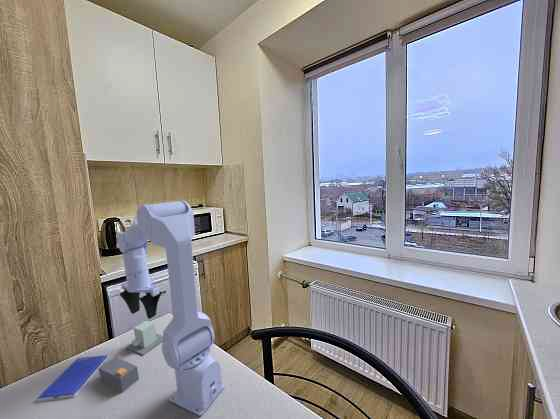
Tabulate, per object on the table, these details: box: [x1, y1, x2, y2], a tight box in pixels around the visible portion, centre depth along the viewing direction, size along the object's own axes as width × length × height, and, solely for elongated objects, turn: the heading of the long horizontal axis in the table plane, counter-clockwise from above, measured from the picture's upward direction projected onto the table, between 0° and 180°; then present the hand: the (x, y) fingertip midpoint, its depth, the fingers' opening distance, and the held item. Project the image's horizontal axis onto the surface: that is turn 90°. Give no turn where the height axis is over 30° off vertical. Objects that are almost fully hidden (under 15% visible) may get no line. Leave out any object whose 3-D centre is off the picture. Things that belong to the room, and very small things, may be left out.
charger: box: [131, 320, 157, 348], centre depth 73 cm, size 4×6×6 cm
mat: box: [125, 333, 163, 356], centre depth 74 cm, size 8×8×1 cm
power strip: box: [98, 356, 140, 393], centre depth 60 cm, size 9×4×4 cm, turn 64°
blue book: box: [36, 354, 108, 402], centre depth 62 cm, size 2×8×12 cm
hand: (143, 314), depth 72 cm, fingers open, 7 cm apart
